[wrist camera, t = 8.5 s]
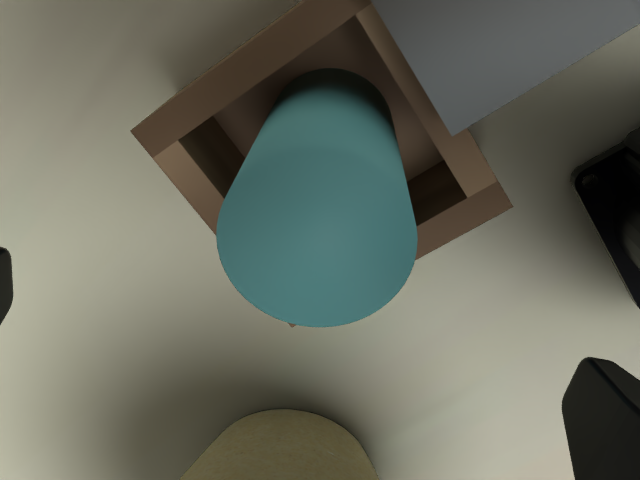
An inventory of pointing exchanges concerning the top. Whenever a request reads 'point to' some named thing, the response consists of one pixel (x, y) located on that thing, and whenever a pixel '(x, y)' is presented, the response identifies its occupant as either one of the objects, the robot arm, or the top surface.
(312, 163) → the peg
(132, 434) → the top surface
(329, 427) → the plant pot
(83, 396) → the top surface
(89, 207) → the top surface
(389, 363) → the top surface
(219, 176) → the brown wooden open box
